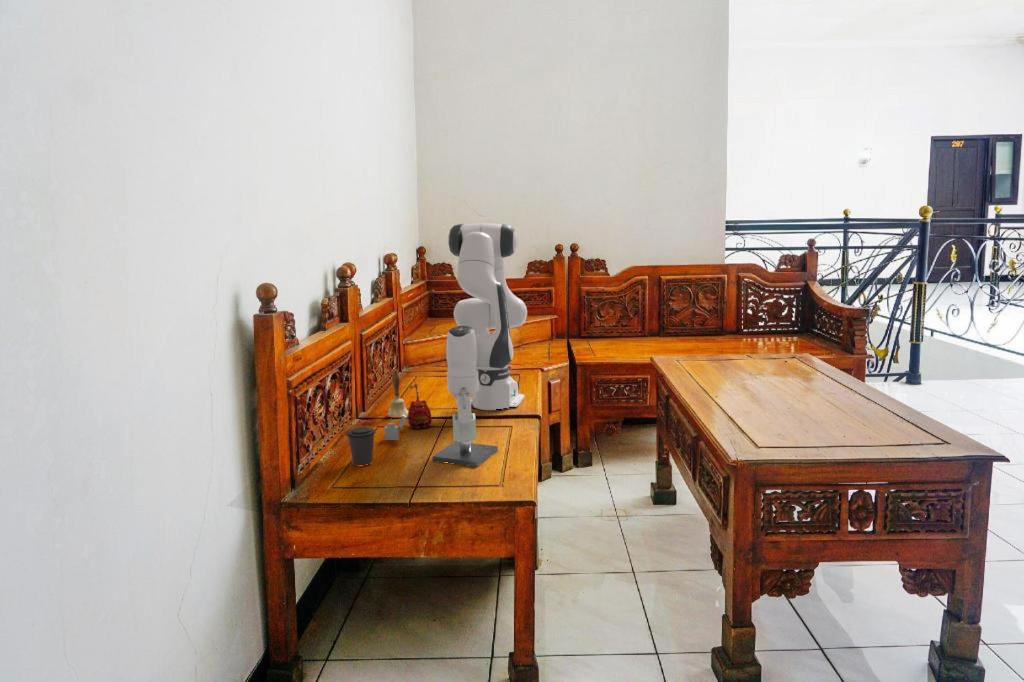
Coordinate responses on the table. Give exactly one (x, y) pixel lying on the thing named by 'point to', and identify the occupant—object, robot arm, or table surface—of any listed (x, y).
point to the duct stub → (465, 453)
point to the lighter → (394, 429)
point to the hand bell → (397, 399)
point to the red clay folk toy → (419, 413)
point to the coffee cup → (361, 445)
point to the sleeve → (458, 430)
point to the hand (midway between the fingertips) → (464, 430)
